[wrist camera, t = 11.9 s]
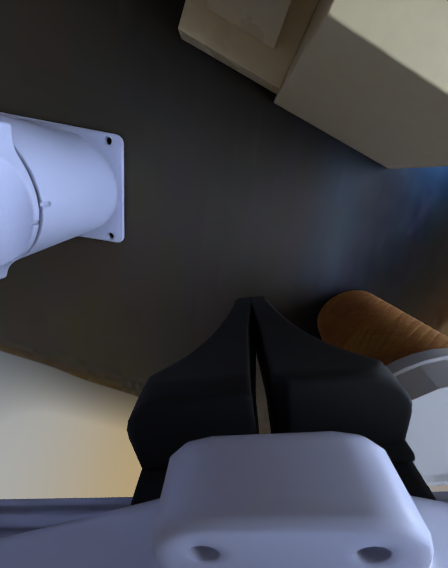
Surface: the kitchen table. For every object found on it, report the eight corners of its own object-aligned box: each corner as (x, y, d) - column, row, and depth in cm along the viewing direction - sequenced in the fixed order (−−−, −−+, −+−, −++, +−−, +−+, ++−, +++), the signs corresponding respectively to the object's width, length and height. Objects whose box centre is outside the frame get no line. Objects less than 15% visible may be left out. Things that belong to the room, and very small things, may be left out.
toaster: (271, 102, 17) (325, 9, 7) (352, -81, 13) (642, -683, 4) (388, 169, 18) (552, 161, 9) (487, 21, 15) (921, -237, 5)
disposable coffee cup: (328, 260, 21) (434, 350, 10) (421, 291, 22) (606, 402, 11) (285, 342, 25) (328, 472, 14) (365, 365, 26) (464, 502, 15)
